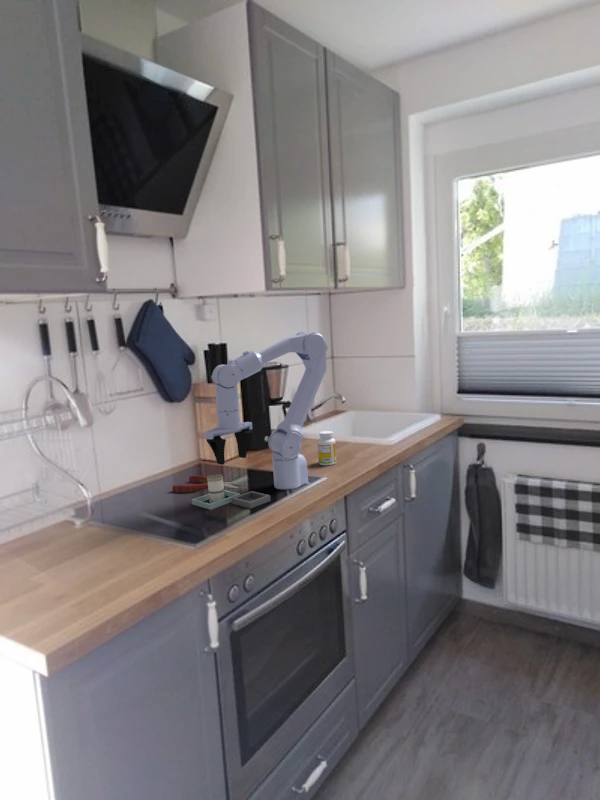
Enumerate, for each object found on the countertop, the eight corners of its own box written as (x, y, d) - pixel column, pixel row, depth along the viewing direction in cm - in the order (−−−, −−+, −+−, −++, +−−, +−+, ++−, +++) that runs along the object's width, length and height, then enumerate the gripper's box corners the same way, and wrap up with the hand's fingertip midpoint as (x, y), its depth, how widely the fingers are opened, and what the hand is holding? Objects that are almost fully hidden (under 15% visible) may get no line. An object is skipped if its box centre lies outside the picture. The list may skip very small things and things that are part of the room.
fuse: (217, 498, 155) (215, 473, 154) (228, 501, 152) (226, 475, 151) (206, 503, 152) (203, 477, 150) (216, 505, 149) (214, 479, 148)
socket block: (252, 498, 154) (251, 491, 154) (270, 503, 150) (270, 495, 149) (232, 506, 149) (231, 498, 149) (250, 511, 145) (250, 503, 144)
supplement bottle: (329, 460, 189) (328, 429, 188) (340, 463, 185) (338, 431, 183) (315, 463, 186) (313, 432, 185) (325, 466, 182) (323, 434, 180)
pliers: (234, 497, 158) (233, 488, 158) (170, 494, 165) (170, 485, 165) (252, 485, 169) (251, 476, 168) (191, 482, 176) (191, 474, 175)
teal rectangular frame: (222, 496, 158) (221, 489, 158) (241, 501, 153) (240, 493, 153) (192, 507, 151) (191, 499, 151) (210, 512, 146) (210, 504, 145)
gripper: (238, 405, 160) (242, 453, 162) (196, 413, 150) (200, 464, 152) (256, 406, 156) (259, 456, 158) (213, 415, 145) (218, 468, 147)
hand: (231, 460), depth 154 cm, fingers open, 7 cm apart
